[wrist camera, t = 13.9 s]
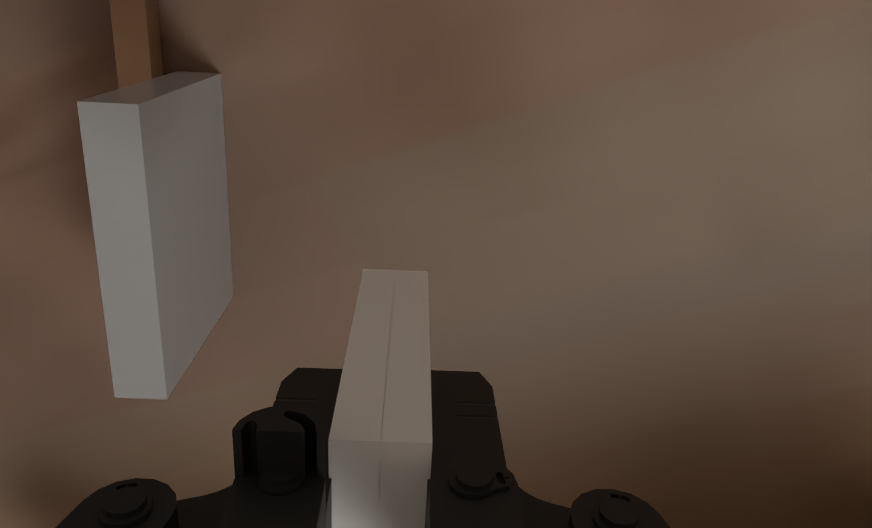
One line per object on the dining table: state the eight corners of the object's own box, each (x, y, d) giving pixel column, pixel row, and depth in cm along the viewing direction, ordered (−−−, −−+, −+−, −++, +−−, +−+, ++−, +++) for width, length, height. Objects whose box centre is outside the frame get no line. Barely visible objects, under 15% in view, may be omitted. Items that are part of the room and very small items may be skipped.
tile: (233, 296, 29) (166, 399, 22) (192, 294, 29) (111, 397, 22) (221, 73, 26) (138, 104, 19) (175, 70, 26) (73, 101, 19)
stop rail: (186, 348, 30) (177, 362, 29) (157, 347, 30) (147, 361, 29) (157, -2, 25) (144, -2, 24) (122, -4, 25) (108, -4, 24)
